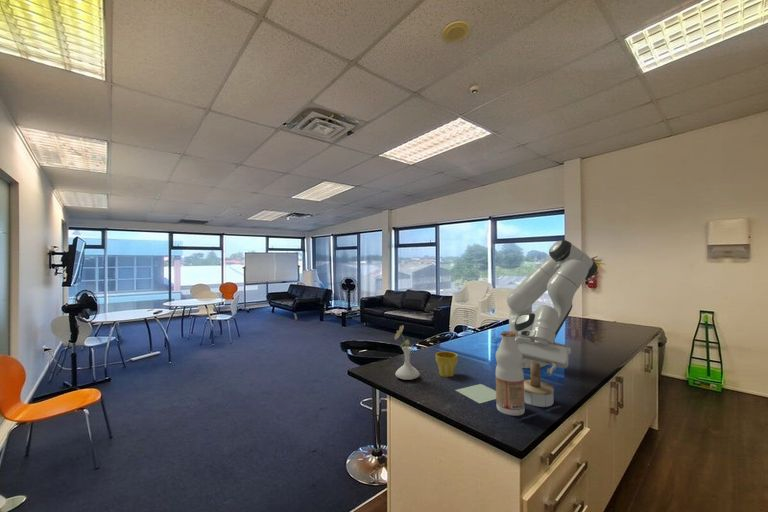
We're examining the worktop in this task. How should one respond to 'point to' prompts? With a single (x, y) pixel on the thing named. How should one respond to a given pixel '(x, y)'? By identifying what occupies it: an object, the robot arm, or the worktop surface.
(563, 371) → the worktop surface
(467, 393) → the mat
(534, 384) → the lid
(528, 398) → the bowl
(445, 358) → the plant pot
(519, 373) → the fruit juice
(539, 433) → the worktop surface
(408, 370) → the flower in vase
